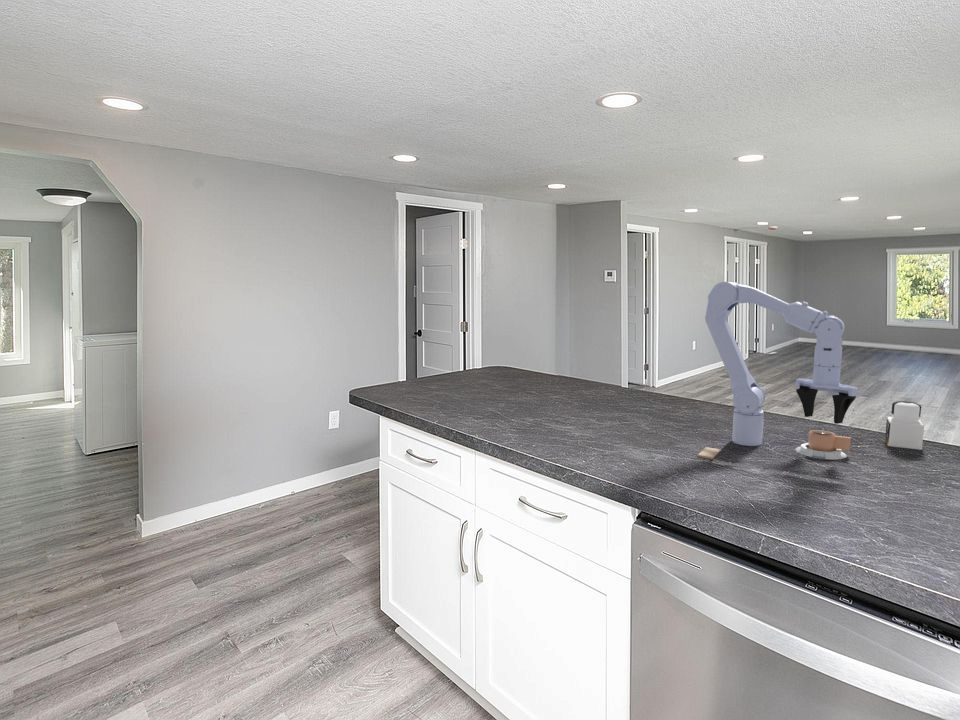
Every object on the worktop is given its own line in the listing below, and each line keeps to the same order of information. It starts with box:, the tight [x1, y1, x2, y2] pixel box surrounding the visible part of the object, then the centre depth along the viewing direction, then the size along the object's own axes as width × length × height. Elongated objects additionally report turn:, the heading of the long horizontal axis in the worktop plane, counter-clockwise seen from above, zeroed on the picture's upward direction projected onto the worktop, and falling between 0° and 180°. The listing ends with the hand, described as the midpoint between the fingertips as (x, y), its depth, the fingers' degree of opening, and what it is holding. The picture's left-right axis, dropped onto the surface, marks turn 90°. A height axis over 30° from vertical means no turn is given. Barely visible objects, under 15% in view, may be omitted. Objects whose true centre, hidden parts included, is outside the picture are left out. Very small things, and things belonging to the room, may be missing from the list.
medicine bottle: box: [884, 400, 925, 451], centre depth 147 cm, size 7×7×12 cm
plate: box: [795, 442, 847, 460], centre depth 142 cm, size 11×11×2 cm
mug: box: [807, 429, 852, 452], centre depth 141 cm, size 9×6×5 cm, turn 57°
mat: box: [697, 446, 731, 463], centre depth 143 cm, size 8×8×1 cm
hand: (823, 419), depth 141 cm, fingers open, 7 cm apart
